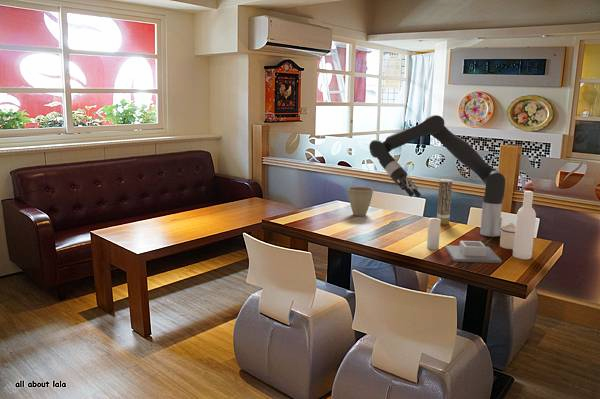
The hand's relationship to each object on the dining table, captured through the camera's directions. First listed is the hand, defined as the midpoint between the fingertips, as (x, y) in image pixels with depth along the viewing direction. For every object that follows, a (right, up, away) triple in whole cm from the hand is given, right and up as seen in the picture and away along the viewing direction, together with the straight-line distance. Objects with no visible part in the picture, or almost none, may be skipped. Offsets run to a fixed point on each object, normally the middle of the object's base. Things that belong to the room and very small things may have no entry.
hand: (416, 195), depth 243 cm
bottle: (+44, -28, -18) cm, 55 cm away
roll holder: (+22, -27, -16) cm, 38 cm away
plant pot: (-21, -11, +58) cm, 62 cm away
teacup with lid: (+45, -24, -2) cm, 51 cm away
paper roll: (+6, -25, -6) cm, 26 cm away
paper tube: (+24, -16, +39) cm, 48 cm away
